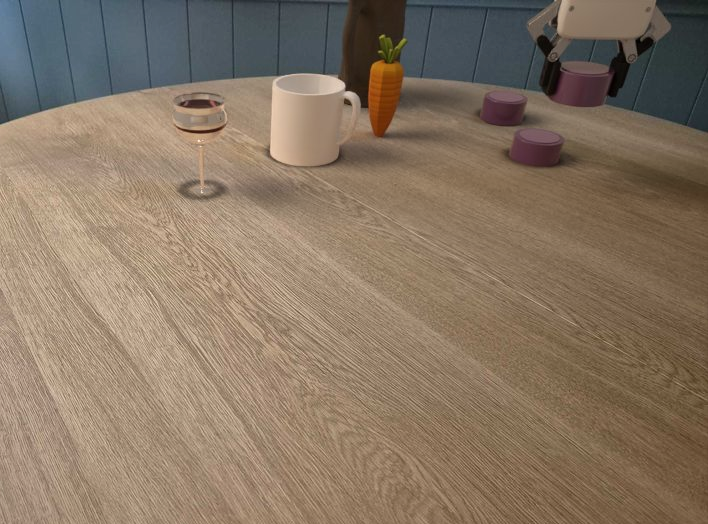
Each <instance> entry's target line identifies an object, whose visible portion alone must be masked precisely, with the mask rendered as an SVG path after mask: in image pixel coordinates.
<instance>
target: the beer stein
mask: <svg viewBox="0 0 708 524" xmlns="http://www.w3.org/2000/svg"><path fill="white" fill-rule="evenodd" d="M407 2H408V0H348V2H347V11H346V16H345V20H344V24H343V29H342V37H341V64H340V69H339V73H338V75H337V79H339V80H341V81H343V82H344V83H345V91H350V92H353V93H355V94H356V95H357V96H358V97H359V99H360V104H361V107H360V108H369V102H368V94H369V81H370V70H371V67H372V65H373V64H374V63H375V62H377V61H381V60H383V58H382V57H381V56H380V54H379V53H378V51H382V48H381V44H380V40H379V37H380V36H382V35H385V37H386V39H387V38H390V39H391V42H392V46H393V51H394V49H395V48H396V47H397V46H398V45H399V43H400V42H401V41H402V40H403V39H404V36H405V35H404V34H405V25H406V11H407V10H406V9H407ZM387 46H388V45H387ZM388 53H389V49H388ZM401 56H402V51H401V52H400V53H399V55H398V56H397V58H396V59H395V61H396V62H399V63H400V64H401ZM344 104H346V105H350V106H352V103H351V102H350V101H349V100H348V99H345V98H344Z"/></svg>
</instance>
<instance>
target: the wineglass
mask: <svg viewBox="0 0 708 524" xmlns="http://www.w3.org/2000/svg"><path fill="white" fill-rule="evenodd" d="M227 102H228V99H227V97H226V96H224V95H223V94H219V93H216V92H210V91H191V92H185V93H181V94H178V95H176V96H174V97H173V98H172V99H171V103H172V105H173V106H174V109H173V111H172V116H171V118H172V124H173V126H174V129H175V131H176V133H178V134H179V135H180V136H181V138H183V139H184V140H185V141H186V142H188V143H192V144H193V145H194V146H195V147H196V148H197V154H198V167H199V179H200V186H197V187H195V188H194V192H196V193H197V194H207V193H209V192H210V191H211V188H210V187H209V186H205V148H206V147H207V146H208V143H211V142H214V141H216V140H218V138H219V137H220V136H221V135H222V134H223V133H224V131H225V130H226V128H227V125H228V122H229V121H228V118H229V116H228V112H227V110H226V108H225V107H226V104H227Z"/></svg>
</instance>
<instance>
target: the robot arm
mask: <svg viewBox="0 0 708 524" xmlns="http://www.w3.org/2000/svg"><path fill="white" fill-rule="evenodd" d="M656 3H657V0H554V1H553V2H552V3H550V4H549V5H548V6H546V7H545V8H543V9H542V10H541V11H539V12H538V13H537V14H535V15H534V16H533V17H531V18H530V19H529V20H527V22H526V23H525V26H526V28H527V30H528V33H529V34H530V36H531V38H532V39H533V40H534V43H535V44H536V45H537V47H538V49H539V51H541V53H542V54H543V56H544V61H543V64H542V68H541V71H540V76H539V80H538V85H539V87H540V88H541V89H540V90H541V91H542V92H543V93H544V95H545V96H546V97H548V96H551V95H553V94H554V90H555V86H556V83H557V79H558V75H559V72H560V68H561V61H560V59H561V56H562V54H563V53H564V52H565V50H566V49H567V48H568V46H569V45H570V44H571V42H572V41H573V40H605V41H606V40H607V41H608V40H611V41H613V40H614V41H615V40H616V47H617V54H616V56H614V57H613V58H612V59H611V61H610V64H609V67H611V68H613V69H614V70H615V75H614V78H613V81H612V84H611V87H610V90H609V94H608V97H610V98H617V97H618V94H619V90H620V89H622V88H623V87H624V85H625V81H626V79H627V76H628V73H629V71H630V67H631V65H632V64H634V63H635V62H636V61H637V59H638V57H640V56H641V55H642V54H644V53H645V52H647V51H648V50H649V49H651V48H652V47H653V46H654V44H655V43H656V42H658V41H659V40H660V39H662V38H663V37H664V36H665V35H666V34H668V33H669V32H670V31H671V29H672V25H671V23H670V22H669V21H668V19H667V17H665V15H664V14H663V13H662V11H661V10H660V8H659V7H658V5H656ZM545 25H548V26H549V27H550V29H552V30H554V31H555V32H554V34H553V36H552V37H551V39H549V38H548V37H547V34H546V33H545V30H544V27H545ZM650 25H651V26H650ZM649 26H650V29H648V27H649ZM647 29H648V30H647ZM646 31H647V32H646Z"/></svg>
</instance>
